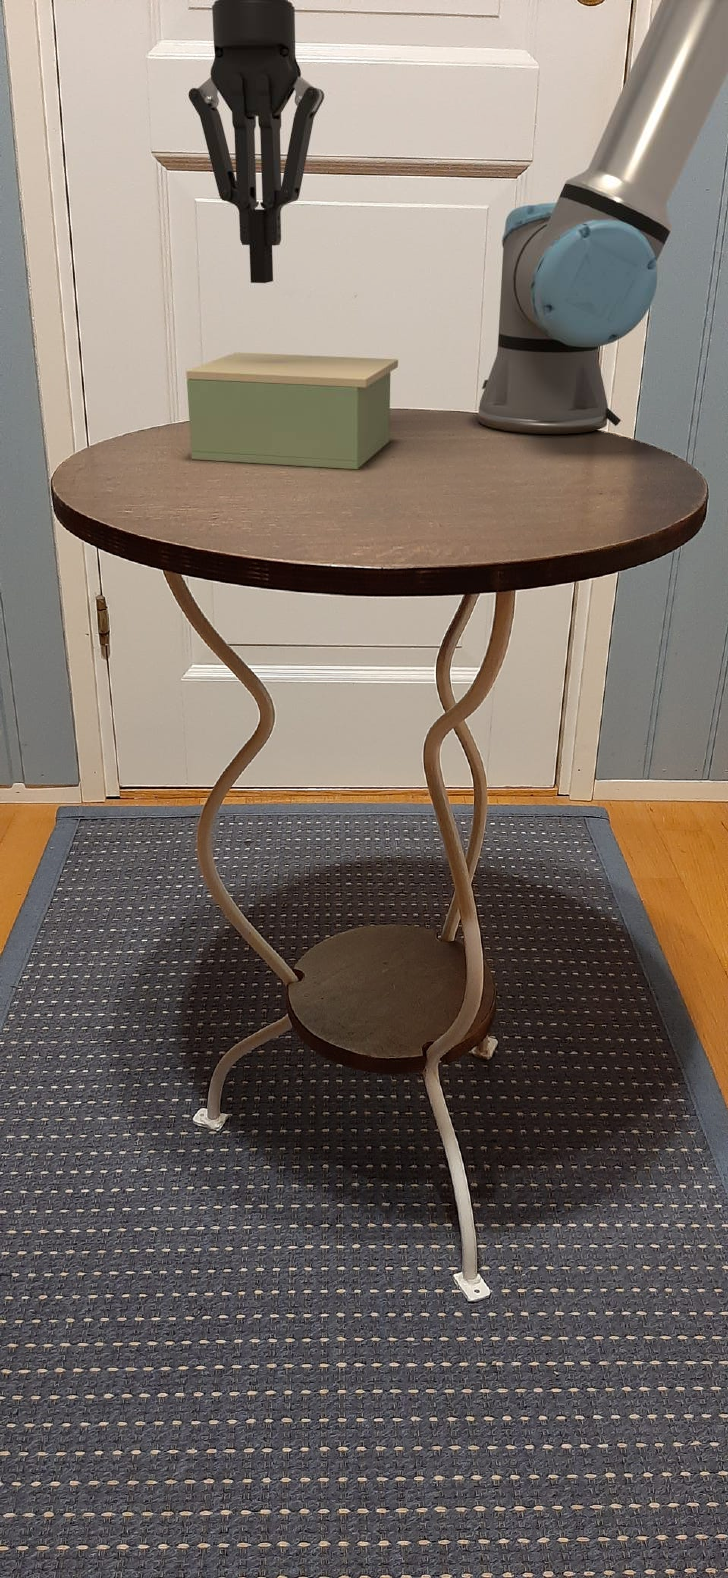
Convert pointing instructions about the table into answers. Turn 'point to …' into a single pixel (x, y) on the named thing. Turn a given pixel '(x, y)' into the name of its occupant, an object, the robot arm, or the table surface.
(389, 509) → the table surface
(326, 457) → the chest
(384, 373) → the lid
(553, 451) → the table surface
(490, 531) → the table surface
